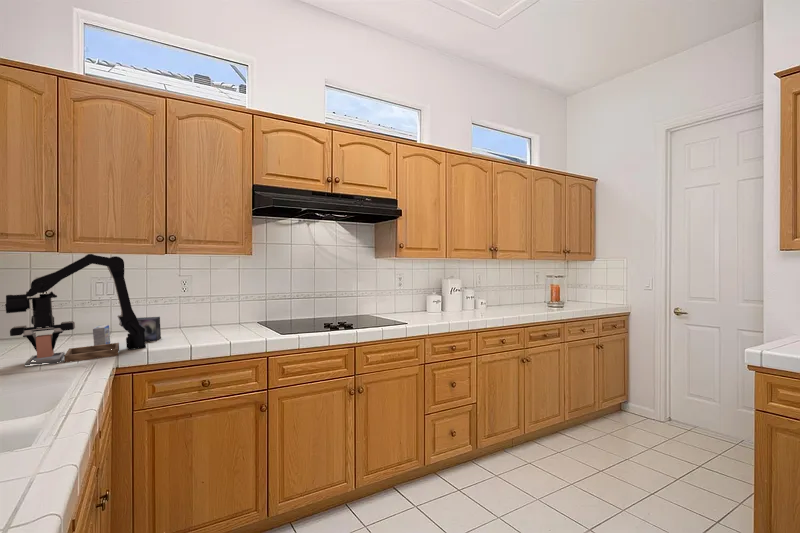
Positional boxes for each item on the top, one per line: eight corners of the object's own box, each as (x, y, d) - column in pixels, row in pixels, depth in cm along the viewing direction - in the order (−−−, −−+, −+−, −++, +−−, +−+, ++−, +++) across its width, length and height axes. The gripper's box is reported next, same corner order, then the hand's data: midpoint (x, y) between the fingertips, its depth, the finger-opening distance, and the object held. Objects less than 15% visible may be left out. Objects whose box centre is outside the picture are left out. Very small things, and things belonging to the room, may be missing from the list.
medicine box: (105, 347, 188) (104, 327, 187) (93, 348, 186) (92, 328, 185) (110, 343, 195) (109, 324, 194) (98, 344, 193) (97, 325, 193)
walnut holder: (119, 348, 184) (118, 342, 184) (118, 355, 171) (117, 349, 171) (69, 354, 175) (69, 348, 175) (64, 362, 162) (64, 355, 162)
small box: (131, 342, 195) (129, 319, 195) (137, 339, 202) (135, 317, 201) (156, 341, 197) (155, 318, 197) (161, 338, 204) (160, 316, 203)
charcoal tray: (64, 355, 174) (64, 351, 174) (59, 362, 162) (59, 358, 162) (32, 359, 169) (32, 355, 169) (25, 367, 157) (24, 363, 157)
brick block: (53, 354, 168) (52, 334, 168) (52, 356, 165) (50, 335, 164) (39, 356, 166) (37, 335, 166) (37, 358, 162) (35, 337, 162)
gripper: (75, 305, 176) (77, 343, 177) (15, 310, 166) (18, 350, 167) (72, 308, 167) (74, 348, 167) (8, 313, 157) (11, 356, 158)
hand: (45, 350), depth 165 cm, fingers closed on brick block, 4 cm apart
